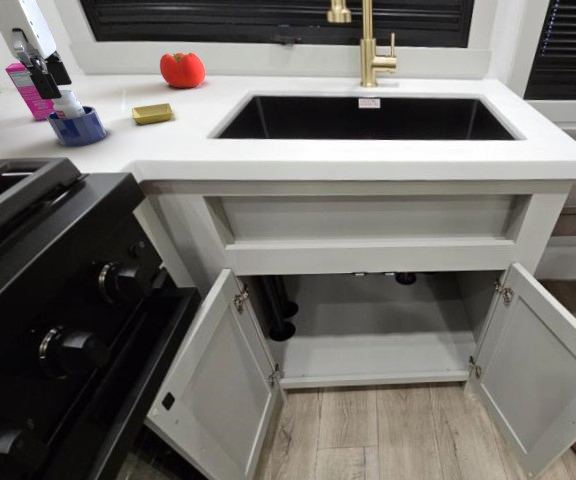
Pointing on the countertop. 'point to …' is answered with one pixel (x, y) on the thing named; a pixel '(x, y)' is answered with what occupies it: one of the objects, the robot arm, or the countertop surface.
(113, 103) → the countertop surface
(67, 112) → the pill bottle
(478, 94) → the countertop surface
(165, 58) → the tomato
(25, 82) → the supplement box
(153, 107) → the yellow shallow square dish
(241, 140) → the countertop surface
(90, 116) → the blue cup
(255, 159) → the countertop surface
